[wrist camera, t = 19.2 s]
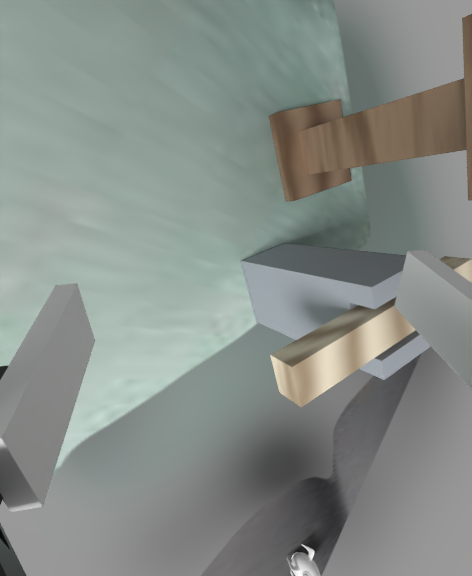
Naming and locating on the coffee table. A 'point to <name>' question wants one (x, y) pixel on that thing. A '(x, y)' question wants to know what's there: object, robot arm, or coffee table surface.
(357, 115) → the walnut stand
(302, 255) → the slotted block
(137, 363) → the coffee table surface
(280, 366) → the birch bar
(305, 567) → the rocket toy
